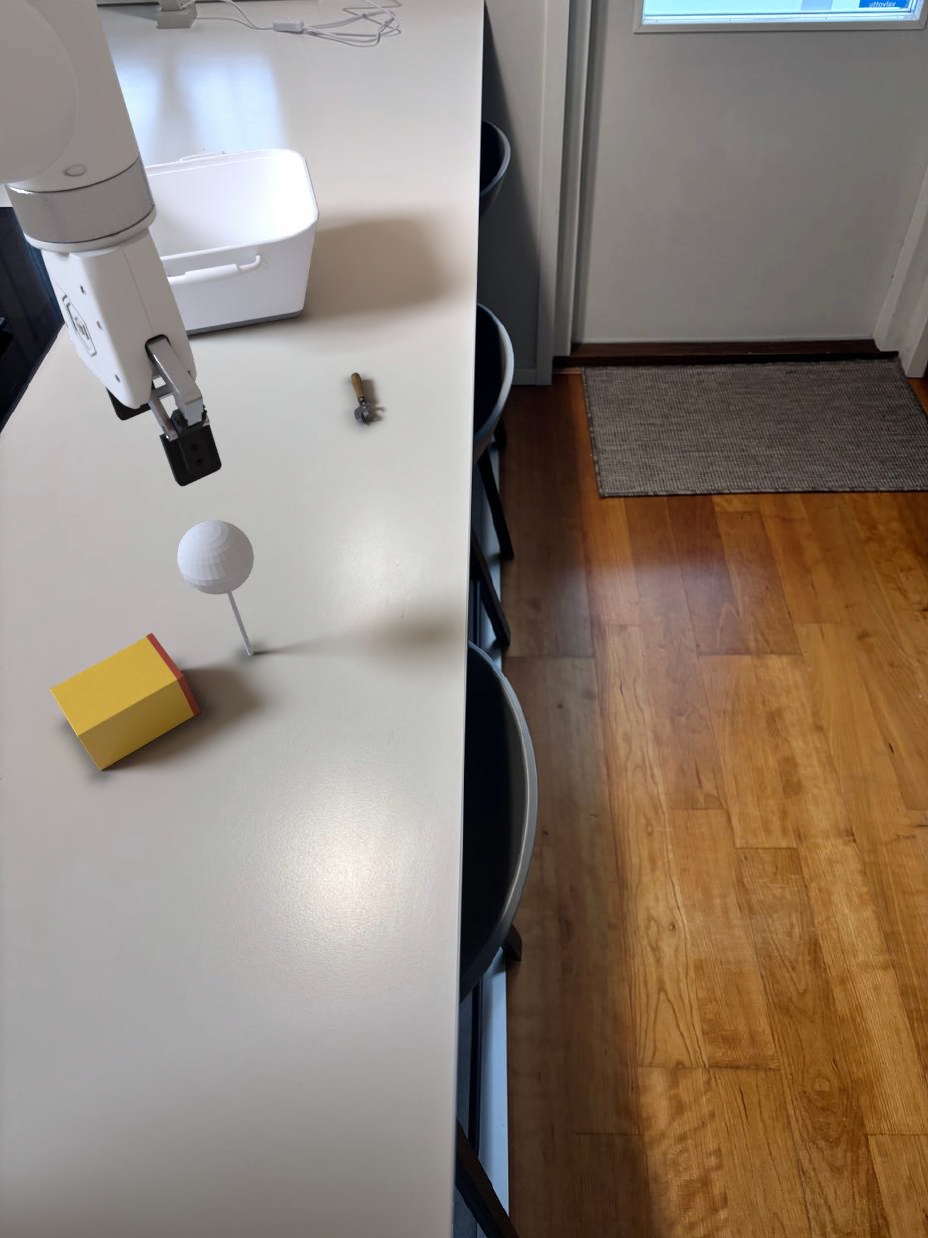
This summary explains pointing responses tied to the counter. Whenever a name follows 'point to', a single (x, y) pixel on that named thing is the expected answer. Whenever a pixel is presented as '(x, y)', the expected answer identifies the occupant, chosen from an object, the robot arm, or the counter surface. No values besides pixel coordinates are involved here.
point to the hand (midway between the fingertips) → (168, 442)
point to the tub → (235, 235)
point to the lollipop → (217, 562)
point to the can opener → (360, 398)
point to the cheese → (126, 701)
